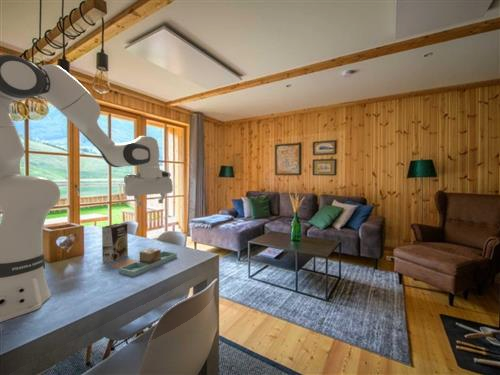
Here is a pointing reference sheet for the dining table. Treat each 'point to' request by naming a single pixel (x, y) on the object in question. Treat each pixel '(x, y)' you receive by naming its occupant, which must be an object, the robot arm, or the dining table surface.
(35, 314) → the dining table surface
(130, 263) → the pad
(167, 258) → the tray far
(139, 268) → the tray near
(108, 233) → the coffee box
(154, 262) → the tray middle
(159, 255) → the letter cube
